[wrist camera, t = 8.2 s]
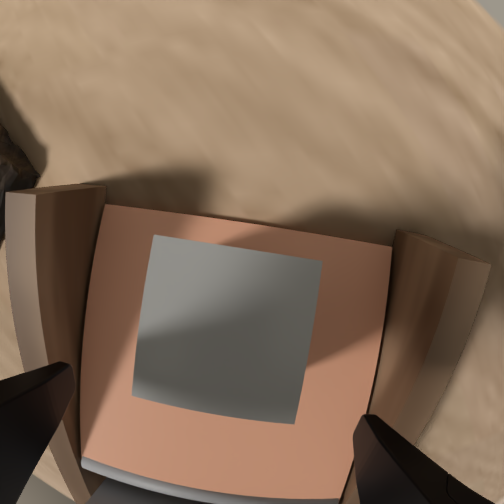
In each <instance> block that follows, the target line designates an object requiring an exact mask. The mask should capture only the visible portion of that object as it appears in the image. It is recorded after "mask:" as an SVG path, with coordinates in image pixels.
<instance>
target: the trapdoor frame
mask: <svg viewBox="0 0 504 504" xmlns="http://www.w3.org/2000/svg"><path fill="white" fill-rule="evenodd" d="M105 198H106V186H99V185H88V184H71V185H60V186H51V187H42V188H33V189H25V190H17V191H10V192H6V195H5V240H6V259H7V272H8V282H9V291H10V299H11V306H12V313H13V319H14V325H15V331H16V336H17V341H18V346H19V350H20V355H21V359H22V363H23V367H24V371H25V372H28V371H31V370H34V369H38V368H41V367H44V366H47V365H49V364H52V363H55V362H58V361H63V362H66V363H68V364H70V365H71V366H72V368H73V373H74V378H75V384H76V388H75V392H74V394H73V396H72V398H71V400H70V403H69V405H68V407H67V409H66V411H65V414H64V416H63V418H62V420H61V422H60V425H59V426H58V428H57V430H56V432H55V434H54V435H53V437H52V439H51V440H50V442H49V444H48V445H49V447H50V450H51V452H52V454H53V457H54V459H55V461H56V463H57V466H58V468H59V470H60V472H61V474H62V477H63V479H64V481H65V483H66V485H67V487H68V489H69V491H70V493H71V495H72V496H73V498H74V500H75V502H76V504H85V503H86V502H87V501H88V500H89V499H90V497H91V496H92V495H93V494H94V492H95V491H96V490H97V489H98V487H99V486H100V485H101V484H102V482H103V481H104V480H105V479H106V476H103V475H100V474H97V473H95V472H92V471H89V470H87V469H84V468H82V466H81V460H82V456H81V436H80V383H81V362H82V347H83V335H84V325H85V315H86V307H87V299H88V292H89V285H90V278H91V272H92V266H93V260H94V254H95V249H96V244H97V239H98V234H99V229H100V224H101V220H102V215H103V211H104V207H105ZM491 266H492V265H491V264H489V263H487V262H485V261H483V260H481V259H478V258H476V257H474V256H472V255H470V254H468V253H465V252H463V251H461V250H459V249H456V248H454V247H452V246H450V245H447V244H445V243H443V242H440V241H438V240H436V239H433V238H431V237H428V236H426V235H422V234H417V233H413V232H408V231H403V230H398V229H397V230H396V234H395V239H394V244H393V248H392V254H391V266H390V276H389V286H388V294H387V303H386V310H385V317H384V324H383V331H382V337H381V343H380V349H379V354H378V360H377V365H376V370H375V375H374V380H373V385H372V389H371V394H370V398H369V402H368V407H367V411H366V414H376V415H377V416H378V417H380V418H381V419H382V420H383V421H384V422H386V423H387V424H388V425H389V426H390V427H392V428H393V429H394V430H395V431H397V432H398V433H399V434H400V435H401V436H403V437H404V438H405V439H406V440H408V441H409V442H410V443H411V444H412V445H414V444H415V443H416V441H417V439H418V438H419V436H420V434H421V433H422V431H423V429H424V428H425V426H426V424H427V422H428V421H429V419H430V417H431V415H432V414H433V412H434V410H435V408H436V406H437V404H438V402H439V400H440V399H441V397H442V395H443V393H444V391H445V389H446V387H447V385H448V383H449V380H450V378H451V376H452V374H453V372H454V370H455V367H456V365H457V363H458V361H459V358H460V356H461V354H462V351H463V349H464V347H465V344H466V342H467V339H468V336H469V334H470V331H471V329H472V326H473V323H474V320H475V318H476V315H477V312H478V309H479V306H480V303H481V300H482V297H483V294H484V290H485V287H486V284H487V280H488V277H489V273H490V269H491ZM338 504H360V500H359V495H358V490H357V484H356V478H355V465H354V458H353V461H352V465H351V468H350V471H349V474H348V477H347V480H346V483H345V486H344V489H343V492H342V494H341V497H340V500H339V503H338Z"/></svg>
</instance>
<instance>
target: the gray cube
mask: <svg viewBox="0 0 504 504" xmlns="http://www.w3.org/2000/svg"><path fill="white" fill-rule="evenodd" d="M322 262H323V261H319V260H313V259H307V258H300V257H294V256H288V255H281V254H275V253H269V252H262V251H256V250H250V249H243V248H237V247H230V246H224V245H218V244H211V243H205V242H199V241H192V240H186V239H179V238H173V237H167V236H160V235H154V237H153V242H152V247H151V252H150V258H149V263H148V269H147V275H146V281H145V287H144V293H143V300H142V306H141V313H140V321H139V328H138V336H137V345H136V353H135V363H134V373H133V384H132V396H134V397H138V398H142V399H146V400H149V401H153V402H157V403H162V404H166V405H170V406H175V407H179V408H184V409H189V410H193V411H199V412H204V413H209V414H215V415H221V416H227V417H234V418H240V419H248V420H255V421H264V422H273V423H283V424H295V420H296V415H297V410H298V406H299V401H300V396H301V391H302V386H303V381H304V375H305V370H306V365H307V359H308V354H309V348H310V342H311V336H312V330H313V324H314V318H315V312H316V305H317V298H318V292H319V285H320V277H321V270H322Z"/></svg>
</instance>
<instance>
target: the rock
mask: <svg viewBox="0 0 504 504" xmlns="http://www.w3.org/2000/svg"><path fill="white" fill-rule="evenodd" d="M38 177H40V175H39V174H38V173H37V172H36V170H35V169H34V168H33V166H32V165H31V163H30V162H29V160H28V158H27V157H26V155H25V154H24V153H23V151H22V150H21V149H20V147H19V146H15V145H14V144H13V143H12V142H11V140H10V137H9V135H8V132H7V131H6V129H5V128H3V127H2V126H1V124H0V241H1V239H2V237H3V236H4V234H5V195H6V192H10V191H17V190H25V189H32V188H33V186H34V184H35V182H36V179H37V178H38Z"/></svg>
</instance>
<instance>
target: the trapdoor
mask: <svg viewBox="0 0 504 504" xmlns="http://www.w3.org/2000/svg"><path fill="white" fill-rule="evenodd" d="M154 235H160V236H167V237H173V238H179V239H186V240H192V241H199V242H205V243H211V244H218V245H224V246H230V247H237V248H243V249H250V250H256V251H262V252H269V253H275V254H281V255H288V256H294V257H300V258H307V259H313V260H319V261H323V262H322V270H321V277H320V285H319V292H318V298H317V305H316V312H315V318H314V324H313V330H312V336H311V342H310V348H309V354H308V359H307V365H306V370H305V375H304V381H303V386H302V391H301V396H300V401H299V406H298V410H297V415H296V420H295V424H283V423H273V422H264V421H255V420H248V419H240V418H234V417H227V416H221V415H215V414H209V413H204V412H199V411H193V410H189V409H184V408H179V407H175V406H170V405H166V404H162V403H157V402H153V401H149V400H146V399H142V398H138V397H134V396H132V384H133V373H134V363H135V353H136V345H137V336H138V328H139V321H140V313H141V306H142V300H143V293H144V287H145V281H146V275H147V269H148V263H149V258H150V252H151V247H152V242H153V237H154ZM391 254H392V247H390V246H384V245H379V244H373V243H367V242H362V241H356V240H350V239H344V238H338V237H332V236H326V235H320V234H314V233H308V232H302V231H296V230H289V229H283V228H277V227H270V226H264V225H257V224H250V223H244V222H237V221H230V220H223V219H216V218H209V217H202V216H195V215H188V214H180V213H173V212H165V211H158V210H150V209H142V208H134V207H126V206H118V205H109V204H105V207H104V211H103V215H102V220H101V224H100V229H99V234H98V239H97V244H96V249H95V254H94V260H93V266H92V272H91V278H90V285H89V292H88V299H87V307H86V315H85V325H84V335H83V347H82V362H81V383H80V436H81V456H82V460H81V466H82V468H84V469H87V470H89V471H92V472H95V473H97V474H100V475H103V476H106V479H105V480H104V481H103V482H102V484H101V485H100V486H99V487H98V489H97V490H96V491H95V492H94V494H93V495H92V496H91V497H90V499H89V500H88V501H87V502H86V503H85V504H338V503H339V500H340V497H341V494H342V492H343V489H344V486H345V483H346V480H347V477H348V474H349V471H350V468H351V465H352V461H353V458H354V451H353V433H354V430H355V428H356V426H357V424H358V422H359V420H360V418H361V416H362V415H363V414H366V411H367V407H368V402H369V398H370V394H371V389H372V385H373V380H374V375H375V370H376V365H377V360H378V354H379V349H380V343H381V337H382V331H383V324H384V317H385V310H386V303H387V294H388V286H389V276H390V266H391Z"/></svg>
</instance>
